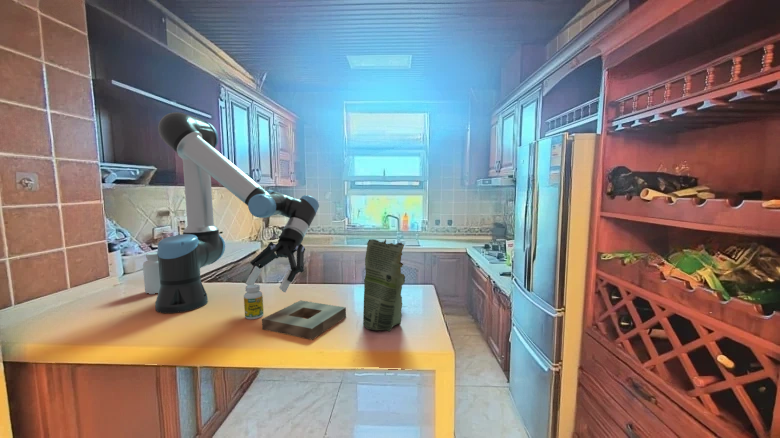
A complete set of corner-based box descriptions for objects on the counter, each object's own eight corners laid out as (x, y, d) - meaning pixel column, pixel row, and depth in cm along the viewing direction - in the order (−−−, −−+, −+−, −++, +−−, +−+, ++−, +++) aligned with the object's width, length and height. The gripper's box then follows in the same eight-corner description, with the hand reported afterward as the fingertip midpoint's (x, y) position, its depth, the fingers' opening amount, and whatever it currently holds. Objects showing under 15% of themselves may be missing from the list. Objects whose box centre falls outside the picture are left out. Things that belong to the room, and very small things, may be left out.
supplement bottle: (261, 311, 110) (259, 282, 109) (265, 317, 106) (264, 286, 105) (243, 315, 107) (241, 285, 107) (246, 321, 103) (245, 289, 102)
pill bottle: (139, 294, 130) (136, 254, 128) (157, 287, 138) (154, 250, 136) (158, 295, 128) (155, 255, 127) (174, 288, 136) (172, 251, 135)
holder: (262, 329, 97) (261, 318, 97) (300, 309, 112) (300, 300, 112) (312, 339, 90) (311, 328, 90) (345, 316, 106) (345, 307, 105)
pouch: (364, 318, 104) (363, 236, 102) (404, 318, 104) (403, 236, 102) (361, 334, 93) (360, 242, 91) (405, 333, 93) (405, 242, 91)
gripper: (328, 241, 119) (303, 298, 106) (271, 238, 128) (242, 289, 116) (319, 228, 113) (291, 286, 101) (260, 225, 123) (228, 278, 111)
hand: (265, 287), depth 109 cm, fingers open, 13 cm apart
